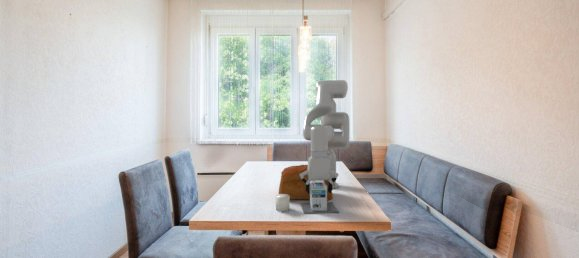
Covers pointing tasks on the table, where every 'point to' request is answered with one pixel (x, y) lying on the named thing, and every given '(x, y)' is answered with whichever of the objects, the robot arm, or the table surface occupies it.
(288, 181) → the bread
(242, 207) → the table surface
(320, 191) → the light bulb box
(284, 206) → the white capsule cylinder
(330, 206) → the slate trivet
